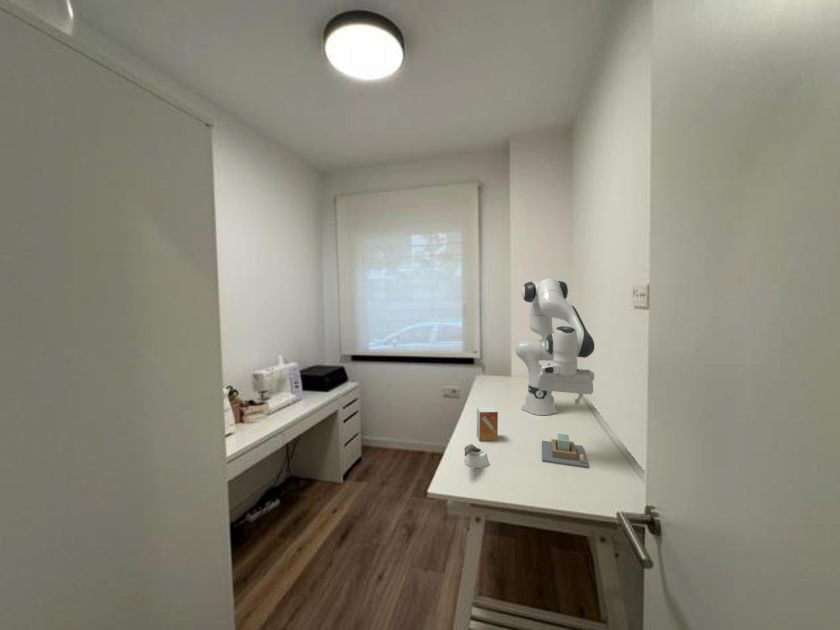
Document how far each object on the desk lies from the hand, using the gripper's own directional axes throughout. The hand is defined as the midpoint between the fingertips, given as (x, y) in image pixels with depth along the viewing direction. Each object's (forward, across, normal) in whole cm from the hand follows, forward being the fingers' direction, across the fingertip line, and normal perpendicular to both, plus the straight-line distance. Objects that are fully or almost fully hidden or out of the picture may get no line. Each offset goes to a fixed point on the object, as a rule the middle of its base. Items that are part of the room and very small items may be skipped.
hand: (564, 402), depth 136 cm
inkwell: (+21, +32, +22) cm, 44 cm away
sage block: (+20, 0, 0) cm, 20 cm away
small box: (+21, +31, -6) cm, 38 cm away
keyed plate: (+21, 0, 0) cm, 21 cm away
